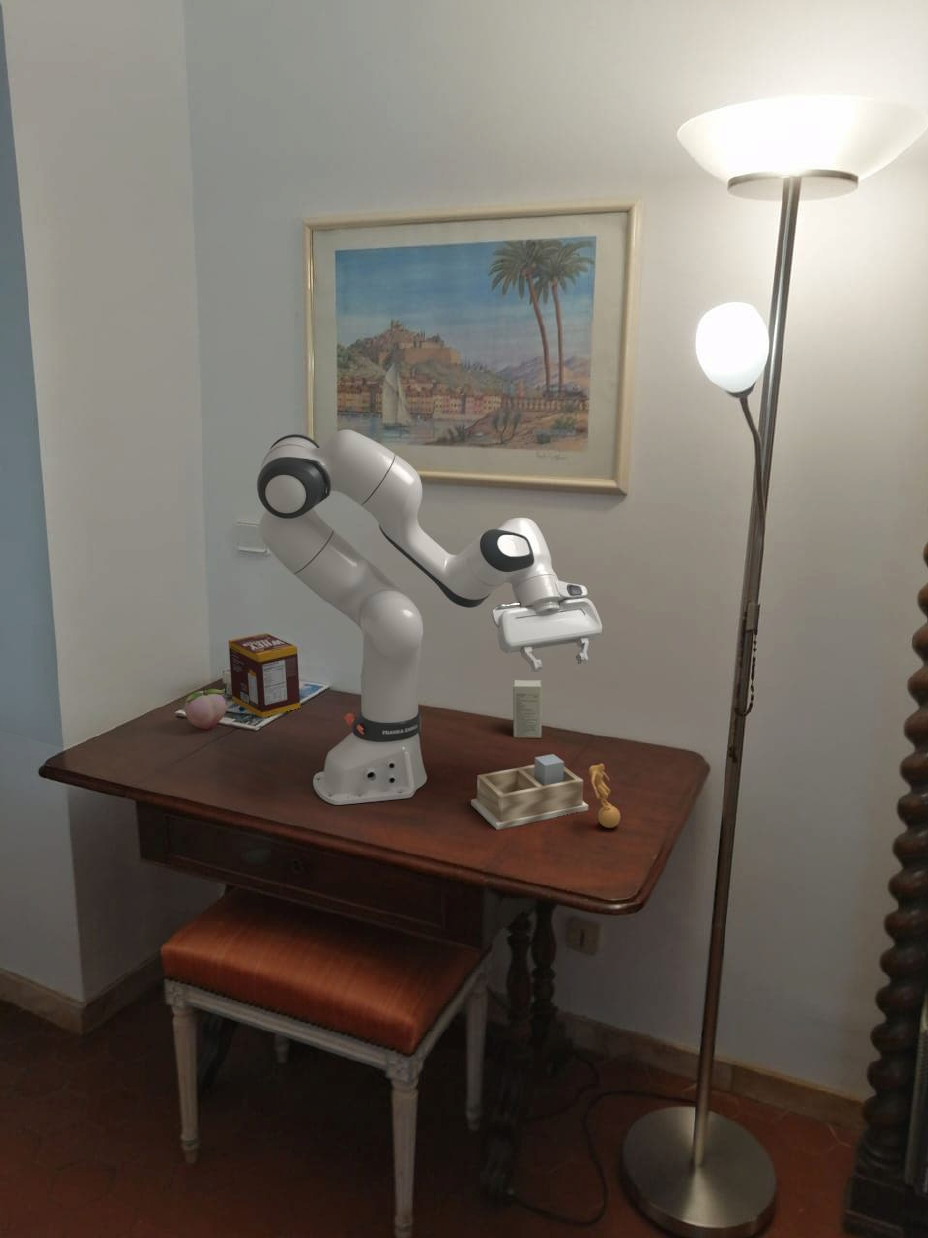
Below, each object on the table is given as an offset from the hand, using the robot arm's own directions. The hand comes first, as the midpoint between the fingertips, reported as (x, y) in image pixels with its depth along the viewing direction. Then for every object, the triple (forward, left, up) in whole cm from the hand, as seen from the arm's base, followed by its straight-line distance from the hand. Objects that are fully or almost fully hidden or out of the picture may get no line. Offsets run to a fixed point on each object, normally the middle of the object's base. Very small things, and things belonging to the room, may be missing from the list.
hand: (561, 666), depth 179 cm
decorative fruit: (-55, +63, -27) cm, 88 cm away
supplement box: (-39, +73, -27) cm, 87 cm away
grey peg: (-2, -1, -26) cm, 26 cm away
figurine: (+3, -12, -27) cm, 30 cm away
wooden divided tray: (-6, -1, -27) cm, 27 cm away
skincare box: (+10, +31, -27) cm, 43 cm away
